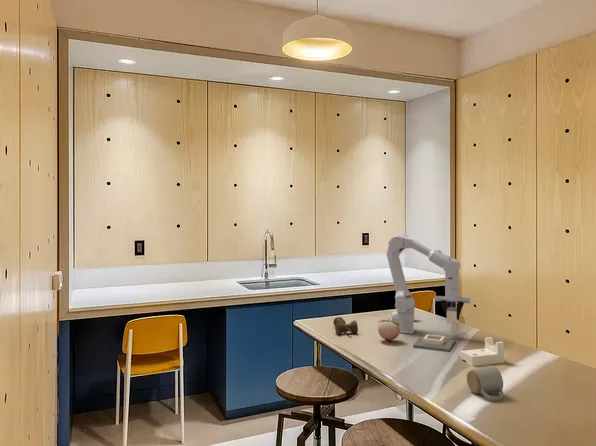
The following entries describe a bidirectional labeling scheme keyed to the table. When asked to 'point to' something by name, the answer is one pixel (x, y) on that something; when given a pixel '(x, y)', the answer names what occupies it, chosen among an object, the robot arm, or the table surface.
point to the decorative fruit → (389, 329)
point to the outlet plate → (434, 343)
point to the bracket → (485, 354)
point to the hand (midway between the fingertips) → (452, 318)
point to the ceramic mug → (486, 382)
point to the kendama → (345, 326)
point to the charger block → (452, 315)
